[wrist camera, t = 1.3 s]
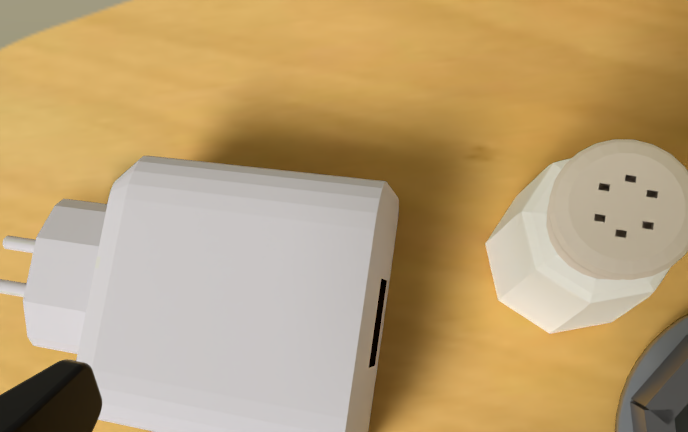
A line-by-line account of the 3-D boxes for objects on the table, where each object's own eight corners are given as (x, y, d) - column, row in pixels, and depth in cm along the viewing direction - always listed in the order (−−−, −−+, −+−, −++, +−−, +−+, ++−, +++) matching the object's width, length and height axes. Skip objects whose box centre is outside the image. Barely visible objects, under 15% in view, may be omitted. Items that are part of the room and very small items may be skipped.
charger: (63, 163, 28) (402, 202, 25) (18, 377, 27) (368, 448, 24) (-18, 133, 24) (384, 175, 20) (-76, 389, 23) (339, 479, 19)
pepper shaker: (498, 172, 24) (507, 57, 14) (654, 196, 23) (800, 89, 12) (472, 317, 24) (459, 316, 13) (631, 350, 22) (763, 379, 12)
